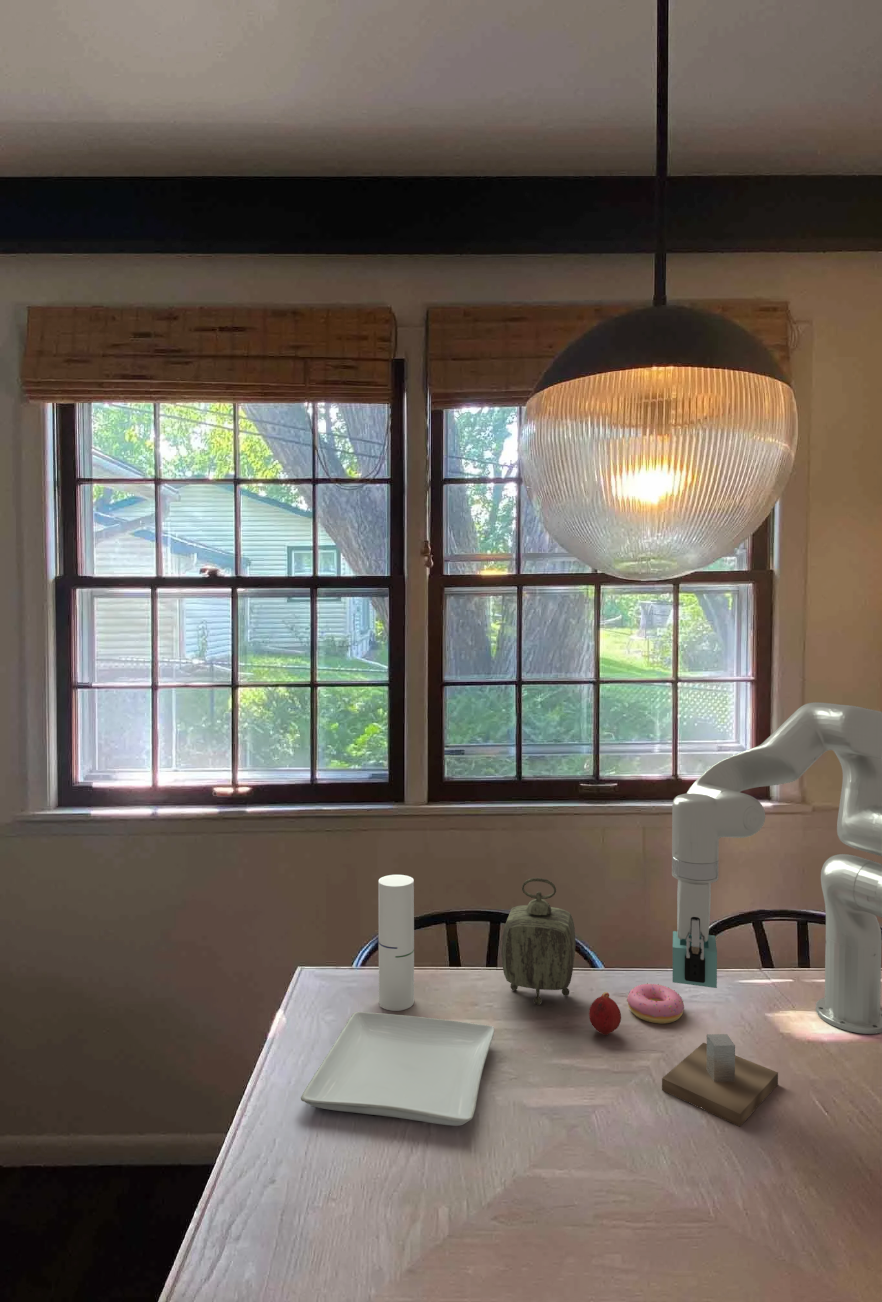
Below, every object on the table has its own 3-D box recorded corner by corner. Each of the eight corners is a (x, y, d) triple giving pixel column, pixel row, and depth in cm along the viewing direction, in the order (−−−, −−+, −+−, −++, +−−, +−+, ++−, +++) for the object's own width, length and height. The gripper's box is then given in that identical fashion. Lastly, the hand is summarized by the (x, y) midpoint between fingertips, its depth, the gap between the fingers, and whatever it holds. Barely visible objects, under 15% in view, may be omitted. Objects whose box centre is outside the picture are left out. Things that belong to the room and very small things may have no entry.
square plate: (353, 1028, 145) (353, 1008, 145) (496, 1044, 139) (496, 1023, 139) (298, 1119, 118) (298, 1094, 118) (471, 1143, 113) (471, 1117, 112)
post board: (703, 1053, 135) (703, 1009, 135) (777, 1084, 126) (778, 1037, 126) (661, 1090, 125) (662, 1042, 124) (740, 1126, 116) (740, 1075, 115)
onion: (607, 1047, 138) (608, 1003, 137) (582, 1034, 142) (582, 992, 142) (626, 1035, 141) (627, 993, 141) (601, 1023, 146) (601, 982, 145)
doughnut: (617, 1014, 149) (617, 993, 149) (641, 994, 158) (642, 974, 158) (670, 1033, 142) (670, 1012, 142) (693, 1011, 151) (693, 990, 151)
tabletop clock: (575, 993, 158) (576, 874, 157) (572, 1014, 149) (573, 889, 148) (506, 985, 161) (506, 869, 160) (499, 1006, 152) (500, 883, 151)
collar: (672, 964, 134) (673, 931, 134) (714, 969, 132) (715, 935, 132) (672, 982, 127) (672, 947, 127) (716, 988, 125) (717, 952, 125)
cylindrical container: (383, 992, 158) (382, 873, 157) (416, 994, 157) (416, 875, 156) (375, 1009, 151) (374, 885, 150) (410, 1012, 150) (410, 887, 149)
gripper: (672, 851, 138) (671, 947, 139) (671, 882, 122) (670, 991, 122) (716, 855, 136) (715, 952, 137) (721, 887, 119) (720, 998, 120)
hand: (694, 970), depth 129 cm, fingers closed on collar, 7 cm apart
